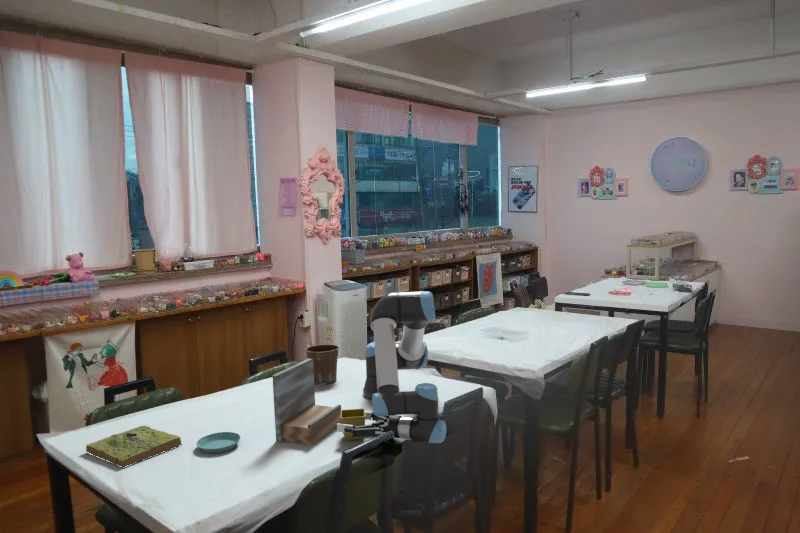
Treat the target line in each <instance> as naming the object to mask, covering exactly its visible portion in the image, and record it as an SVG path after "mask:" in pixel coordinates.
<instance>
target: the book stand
mask: <svg viewBox="0 0 800 533" xmlns="http://www.w3.org/2000/svg"><path fill="white" fill-rule="evenodd" d="M271 377H272V388H273V390H272V393H273V409H274V411H273V412H274V428H275V441H276V442H279V443H281V442H287V443H294V444H300V445H308V446H312V445H314V444H315V443H317V442H319V441H320V440H321V439H323V437H325V436H327V435H328V434H329V433H331V432H332V431H333V430H335V429H337V423H340V424H341V419H340V416H341V410H342V405H341V404H337V405H335V406H328V405H317V404H316V396H315V393H316V390H315V383H314V369H313V359H308V358H306V359H305V360H302V361H301V362H298V363H296V364H294V365H292V366H289V367H287V368H286V369H283V370H281V371H278V372H276V373H274V374H272V376H271Z"/></svg>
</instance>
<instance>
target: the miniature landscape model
mask: <svg viewBox="0 0 800 533" xmlns="http://www.w3.org/2000/svg"><path fill="white" fill-rule="evenodd" d="M85 445H86V447H85V448H86V449H85V450H86V451H87V452H89V453H91V454H93V455H95V456H98V457H100V458H103V459H105V460H108V461H110V462H112V463H114V464H117V465H119V466H122V467H125V466H127V465H130V464H133V463H135V462H138V461H141V460H143V459H146V458H148V457H150V456H153V455H156V454H159V453H161V452H163V451H166V450H169V449H171V448H174V447H176V448H178V447H177V446H179V445H181V446H182V440H181V437H180V436H179V435H177V434H173V433H169V432H165V431H161V430H157V429H155V428H151V427H150V426H147V425H140V426H137V427H134V428H132V429H128V430H126V431H123V432H120V433H113V434H112V435H110V436H108V437H105V438H102V439H100V440H98V441H94V442H91V443H88V444H85ZM179 447H180V446H179ZM174 449H175V448H174ZM171 450H172V449H171ZM86 451H85V452H86ZM169 451H170V450H169ZM166 452H167V451H166ZM161 454H162V453H161ZM159 455H160V454H159ZM156 456H157V455H156ZM146 460H147V459H146ZM143 461H144V460H143ZM141 462H142V461H141ZM138 463H139V462H138ZM133 465H134V464H133Z"/></svg>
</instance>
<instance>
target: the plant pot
mask: <svg viewBox="0 0 800 533" xmlns="http://www.w3.org/2000/svg"><path fill="white" fill-rule="evenodd" d="M339 350H340V346H339V345H337V344H317V345H315V344H314V345H311V346H308V347H306V348H305V350H304V351H305V353H306V359H313V369H314V385H326V384H330V383H334V382H336V381H337V370H338V356H339Z"/></svg>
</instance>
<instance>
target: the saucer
mask: <svg viewBox="0 0 800 533" xmlns="http://www.w3.org/2000/svg"><path fill="white" fill-rule="evenodd" d="M240 440H241V435H240V434H239V433H236V432H233V431H232V432H231V431H220V432H215V433H211V434H208V435H207V434H206V435H205V436H203V437H200V438H199V439H198V440H197V441H196V443H195V444H196V446H197V447H198V448H199V449H200V450H201V451H203V452H204V453H206V454H218V453H224V452H228V451H230V450H231V449H233V448H235V446H236V445H238V443H239V442H240Z"/></svg>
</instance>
